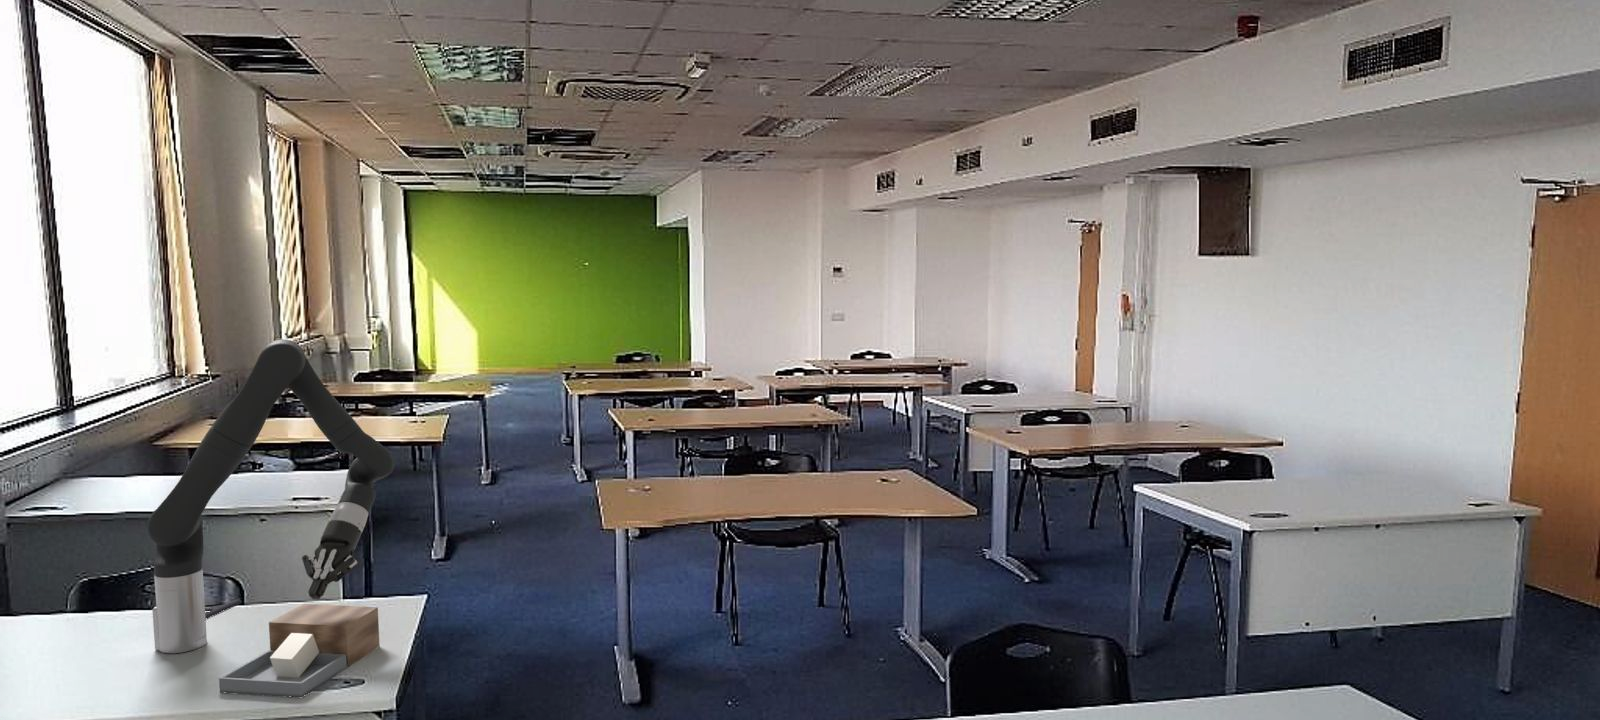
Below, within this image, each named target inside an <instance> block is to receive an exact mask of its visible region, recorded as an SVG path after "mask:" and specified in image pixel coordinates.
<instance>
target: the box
mask: <svg viewBox="0 0 1600 720" xmlns="http://www.w3.org/2000/svg"><path fill="white" fill-rule="evenodd" d="M274 652H275V651H274V650H270V649H268V650H267V651H265V652H263V653H262V654H259V655H258V656H255V658H253V659H251V660H249V661H247V662H245V663H244V664H242V665H240V666H238V667H236V668H234V669H233V670H231V671H230V672H228V673H226V674H224V675H222V676H220V677H219V678H218V686H219V688H218V689H219V693H220V692H226V693H225V694H230V693H237V694H236V695H246V694H249V696H262V695H264V697H268V696H269V697H278V696H286V697H285V698H293V697H303V696H304V695H306V694H307V695H309V694H311V693H312V692H313V691H315V690H316V689H318V688H319V687H321V686H323V685H324V684H326V683H327V682H328V681H330V680H332V679H333V678H334V677H336V676H337V675H339V674H341V673H342V672H343V671H345V670H346V669H348V667H347V663H346V654H328V653H318V655H317V656H316V657H315V658H314V660H313V661H312V662H311V663H310V664H309V666H308V667H307V668H306V669H305V671H304V672H303V673H302V674H301V676H300V677H299V678H294V677H279V676H276V673H275V671H274V668H273V665H272V663H271V660H270V657H271V656H272V655H273V653H274ZM308 693H309V694H308ZM307 695H306V696H307ZM289 696H291V697H289ZM304 697H305V696H304ZM304 697H303V698H304Z"/></svg>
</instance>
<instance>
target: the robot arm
mask: <svg viewBox="0 0 1600 720" xmlns="http://www.w3.org/2000/svg"><path fill="white" fill-rule="evenodd" d="M287 388H288V389H289V390H290V391H291V392H292V393H293V394H294V395H295V396H296V397H297V399H298V400H299V401H300V402H301V403H302V405H303V406H304V408H305V410H306V411H307V413H308V414H309V416H310V417H311V418H312V420H313V422H314V423H315V425H316V426H317V427H318V429H319V431H320V432H321V433H322V434H323V435H324V436H325V438H327V439H328V441H329V442H330V444H331V445H333V448H335V449H336V450H337V451H338V452H339V453H341V454H351V455H353V456H355V457H356V458H355V459H354V460H353V461H352V462H351V464H350V465H349V468H348V470H347V473H346V479H345V485H344V491H343V492H342V494H341V496H340V499H339V500H338V502H337V504H336V507H335V508H334V510H333V511H332V513H331V515H330V518H329V520H328V522H327V524H326V526H325V528H324V531H323V533H322V535H321V537H320V542H319V545H318V547H316V548H315V550H314V552H313V553H312V554H310V555H307V554H305V555H302V557H301V560H302V563H303V566H304V569H305V573H306V575H307V577H308V578H310V579H311V580H312V583H311V585H310V587H309V589H308V596H309V597H310V599H312V600H320V599H321V597H323V596H324V594H325V593H326V590H327V588H328V586H329V584H331V583H333V582H334V583H337V582H339V581H340V580H342V579H343V578H344V577H345V576H347V575H348V574H349V573H351V572H352V571H353V570H354V569H356V568H357V567H358V566H359V562H358V561H357V560H356V559H355V557H353V555H354V551H355V550H356V547H357V545H358V543H359V540H360V538H361V537H362V536H361V535H362V534H363V531H364V528H365V527H366V524H367V521H368V517H369V515H370V512H371V509H372V507H373V505H374V502H375V499H376V491H375V489H374V488H373V487H374V484H375V483H376V482H377V481H379V480H381V479H384V478H386V477H388V476H389V475H391V474H392V472H393V471H394V467H395V461H394V458H393V456H392V454H391V453H390V451H389V450H388V449H387V448H386V447H385V446H383V445H382V444H381V443H380V442H379V441H378V440H376V439H374V438H373V437H372V436H371V435H369V434H367V433H366V432H365V431H364V430H363V429H362V428H361V427H360V425H359V423H357V422H356V420H354V418H353V417H352V416H351V414H349V412H348V411H347V410H346V409H345V408H344V407H343V406H342V404H340V402H339V401H338V400H337V399H336V398H335V396H333V394H332V393H331V392H330V391H329V389H328V388H327V387H326V386H325V384H324V382H323V381H322V380H321V379H320V378H319V376H318V374H317V373H316V372H315V370H314V368H313V367H312V365H311V363H310V361H309V360H308V358H307V355H306V354H305V351H304V349H303V348H302V346H300V345H299V344H298V343H297V342H295V341H293V340H289V339H283V338H282V339H276V340H273V341H271V342H270V343H267V345H265V346H264V347H263V349H262V350H261V351H260V353H259V355H258V357H257V360H256V362H255V363H254V366H253V368H252V369H251V372H250V374H249V375H248V378H247V379H246V381H245V383H244V384H243V386H242V387H241V389H240V391H239V392H238V393H237V394H236V396H235V397H234V398H232V400H231V401H230V402H229V403H228V404H227V406H226V407H225V408H224V409H223V410H222V411H221V412H220V414H219V415H218V417H216V419H215V420H214V422H213V424H212V425H211V426H210V428H209V429H208V431H207V432H206V434H205V435H204V437H203V438H202V440H201V442H200V443H199V445H198V447H197V448H196V450H195V451H194V453H193V455H192V457H191V458H190V460H189V462H188V464H187V466H186V468H185V470H184V472H183V474H182V476H181V477H180V478H179V480H178V482H177V484H176V485H175V486H174V488H173V489H172V490H171V491H170V492H169V494H168V495H167V496H166V498H165V499H164V500H163V501H162V502H161V503H160V504H159V506H158V507H157V508H156V509H154V511H152V513H151V514H150V516H149V518H148V521H147V534H148V536H149V538H150V539H151V541H152V542H153V543H154V544H155V546H156V549H155V550H156V551H155V558H154V561H153V578H154V590H155V606H154V607H153V608H152V623H153V625H152V626H153V639H154V650H155V651H159V652H160V653H162V654H179V653H185V652H186V653H187V652H190V651H194V650H197V649H200V648H201V647H204V646H205V645H206V644H207V643H208V640H207V639H208V638H207V621H206V620H207V619H206V617H205V607H206V603H205V588H204V587H205V586H204V575H203V574H204V573H203V571H204V570H203V558H204V529H203V528H204V526H203V517H202V514H203V513H204V510H205V509H206V507H207V505H208V504H209V502H210V501H211V499H212V498H213V496H214V494H215V493H216V492H217V491H218V490H219V488H220V487H222V486H223V484H224V483H225V482H226V481H227V480H228V479H229V477H230V476H231V475H232V474H233V473H234V472H235V470H237V468H238V466H239V465H241V463H242V462H243V460H244V459H245V457H246V456H247V454H248V452H249V451H250V450H251V448H252V446H253V445H254V443H255V442H256V440H257V438H258V437H259V435H260V433H261V431H262V429H263V427H264V425H265V423H266V421H267V419H268V416H269V414H270V412H271V410H272V408H273V407H274V405H275V404H276V402H277V401H278V399H279V398H280V397H281V396H282V394H283V393H284V392H285V391H286V389H287Z"/></svg>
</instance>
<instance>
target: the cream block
mask: <svg viewBox="0 0 1600 720" xmlns="http://www.w3.org/2000/svg"><path fill="white" fill-rule="evenodd" d="M318 653H319V650H318V647H317V644H316V642H315V639H314V636H313V634H302V633H291V634H290V635H289V636H288V637H287V638H286V640H285V641H284V642H283V643H282V644H281V645H280V647H279V648H278V649H277V650H276V651H275V652H274V653H273V655H272V656H271V657H270V660H271V663H272V665H273V668H274V671H275V673H276V676H279V677H294V678H299V677H300V676H301V674H302V673H303V672H304V671H305V669H306V668H307V667H308V666H309V664H310V663H311V662H312V661H313V660H314V658H315V657H316V656H317V655H318Z"/></svg>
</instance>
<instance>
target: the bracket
mask: <svg viewBox="0 0 1600 720" xmlns="http://www.w3.org/2000/svg"><path fill="white" fill-rule="evenodd" d="M240 604H242V600H241V598H237V599H235V600H232V601H231V602H228V603H225V604H220V605H214V606H205V611H210V612H207V613H205V617H206V618H207V619H209V618H208V617H210V616H212V615H214V616H216V615H218V614H220V613H219V612H221V611H223V610H225V609H227V608H229V609H231V608H230V607H232V608H234V607H236V606H238V605H240ZM227 610H228V609H227ZM225 611H226V610H225ZM223 612H224V611H223ZM217 613H218V614H217ZM221 613H222V612H221ZM215 614H216V615H215ZM212 617H213V616H212ZM210 618H211V617H210Z"/></svg>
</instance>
